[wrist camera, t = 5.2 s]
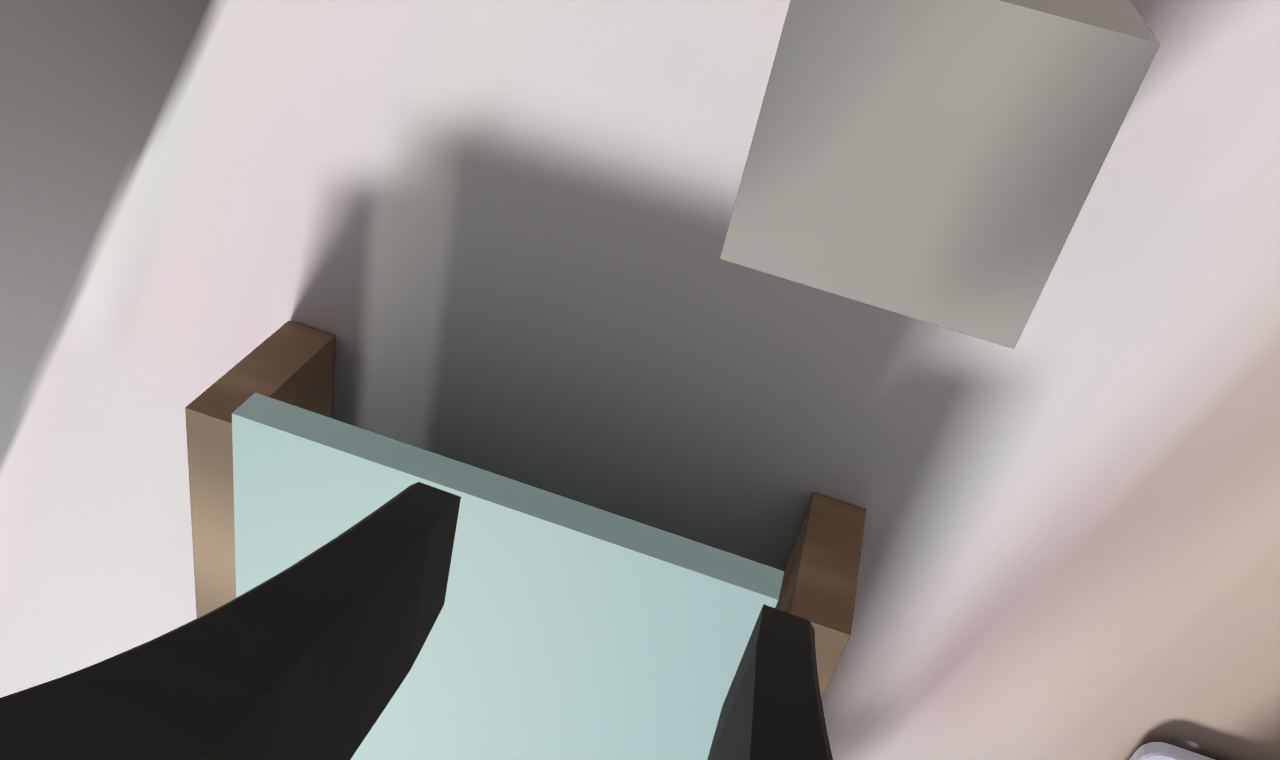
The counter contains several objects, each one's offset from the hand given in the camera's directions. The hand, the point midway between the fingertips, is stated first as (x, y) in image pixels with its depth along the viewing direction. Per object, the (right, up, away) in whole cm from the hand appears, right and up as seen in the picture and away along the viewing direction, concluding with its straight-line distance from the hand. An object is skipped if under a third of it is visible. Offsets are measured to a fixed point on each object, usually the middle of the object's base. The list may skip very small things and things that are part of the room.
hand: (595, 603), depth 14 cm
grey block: (+5, +7, +3) cm, 9 cm away
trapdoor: (-3, -5, +12) cm, 13 cm away
